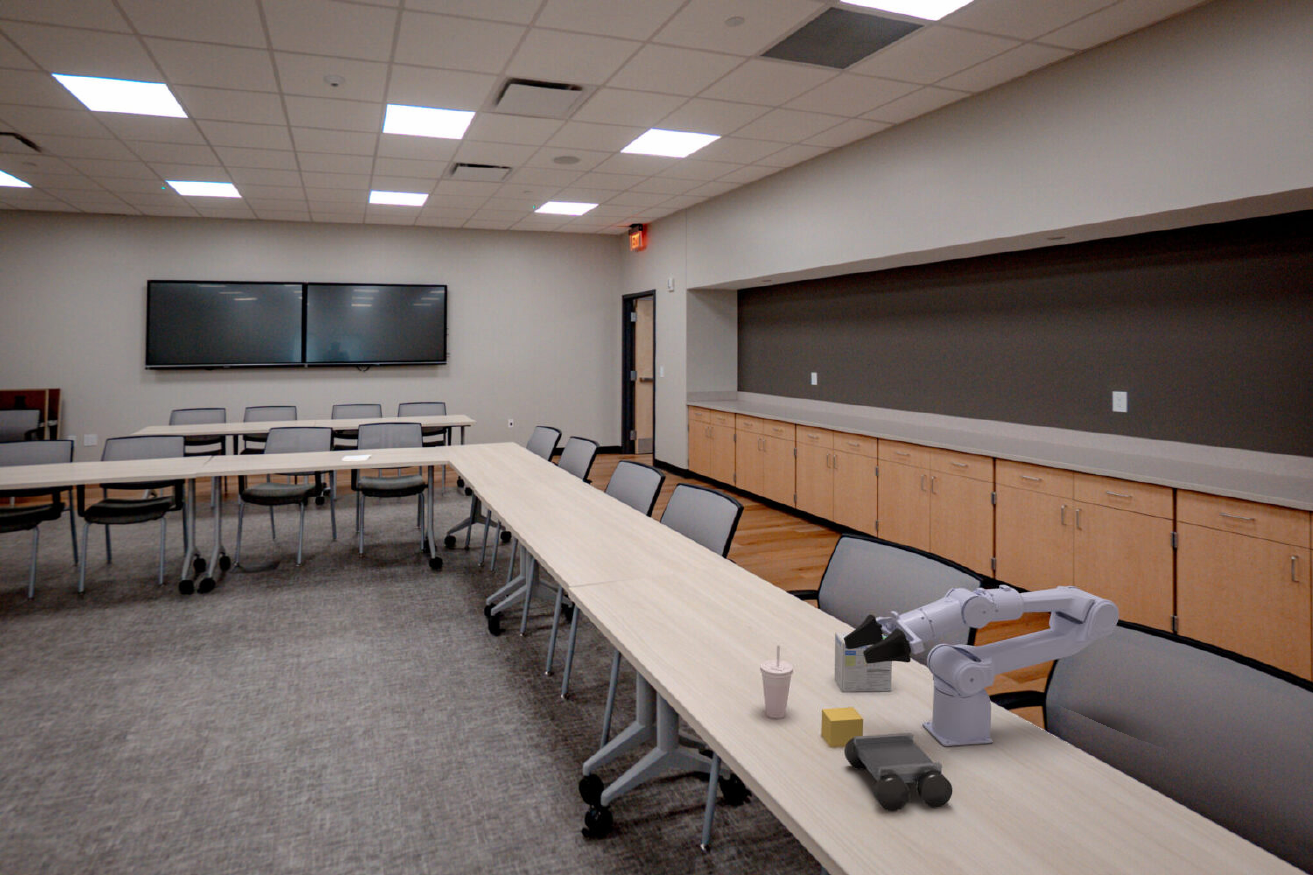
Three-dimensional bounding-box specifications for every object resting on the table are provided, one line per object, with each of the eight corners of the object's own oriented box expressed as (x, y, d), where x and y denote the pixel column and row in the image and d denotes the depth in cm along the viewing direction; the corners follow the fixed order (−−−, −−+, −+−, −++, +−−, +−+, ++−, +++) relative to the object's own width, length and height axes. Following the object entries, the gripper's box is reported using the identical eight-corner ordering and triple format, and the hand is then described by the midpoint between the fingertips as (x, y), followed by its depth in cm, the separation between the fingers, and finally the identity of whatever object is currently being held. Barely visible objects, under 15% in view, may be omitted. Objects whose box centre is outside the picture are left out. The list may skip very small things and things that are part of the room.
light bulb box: (881, 678, 158) (883, 630, 157) (892, 692, 151) (894, 642, 150) (832, 678, 158) (833, 630, 157) (841, 692, 151) (842, 642, 150)
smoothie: (767, 723, 138) (768, 652, 136) (753, 708, 144) (755, 639, 142) (798, 719, 139) (799, 648, 138) (783, 704, 146) (785, 636, 144)
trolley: (910, 760, 125) (911, 727, 124) (951, 806, 112) (953, 769, 111) (843, 765, 123) (844, 732, 123) (877, 812, 110) (879, 775, 110)
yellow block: (852, 732, 135) (853, 706, 134) (862, 745, 130) (863, 718, 130) (821, 735, 134) (821, 709, 133) (830, 747, 129) (831, 720, 129)
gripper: (896, 593, 137) (831, 617, 135) (940, 614, 123) (868, 641, 121) (906, 628, 138) (842, 653, 135) (950, 653, 123) (879, 681, 121)
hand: (855, 650), depth 128 cm, fingers open, 7 cm apart
